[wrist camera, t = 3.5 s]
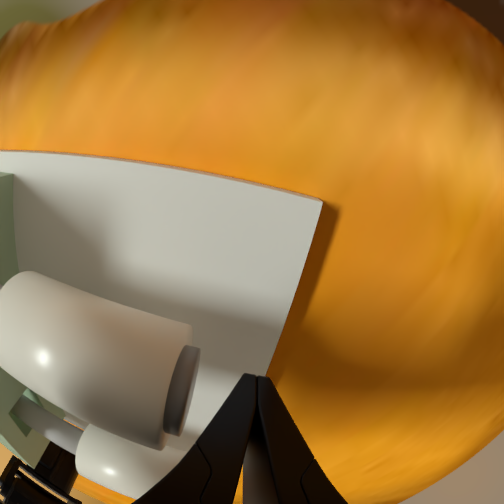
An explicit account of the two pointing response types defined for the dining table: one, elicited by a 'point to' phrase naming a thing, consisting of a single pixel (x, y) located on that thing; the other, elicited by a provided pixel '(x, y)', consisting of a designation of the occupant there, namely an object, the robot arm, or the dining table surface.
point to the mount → (156, 262)
